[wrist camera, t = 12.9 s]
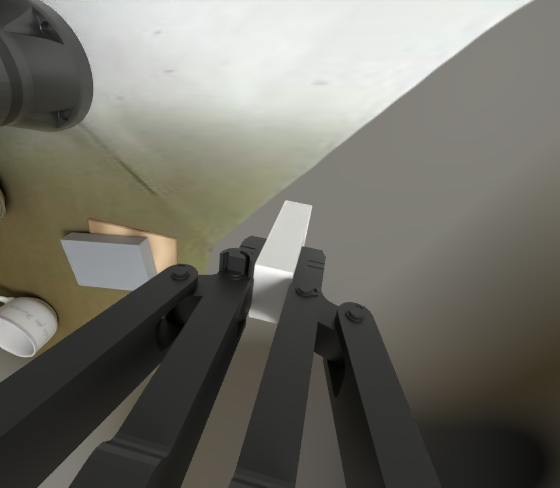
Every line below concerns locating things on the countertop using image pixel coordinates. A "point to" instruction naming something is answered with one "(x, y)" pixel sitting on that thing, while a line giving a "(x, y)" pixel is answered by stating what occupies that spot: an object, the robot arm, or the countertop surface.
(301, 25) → the countertop surface
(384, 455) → the robot arm
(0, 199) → the lid
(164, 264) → the mat
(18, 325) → the teacup
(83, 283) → the grey flat block
